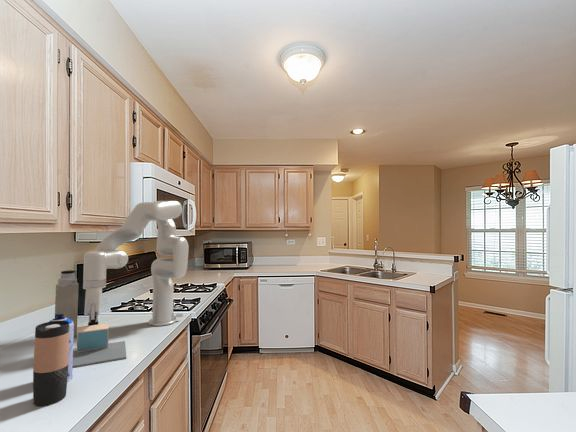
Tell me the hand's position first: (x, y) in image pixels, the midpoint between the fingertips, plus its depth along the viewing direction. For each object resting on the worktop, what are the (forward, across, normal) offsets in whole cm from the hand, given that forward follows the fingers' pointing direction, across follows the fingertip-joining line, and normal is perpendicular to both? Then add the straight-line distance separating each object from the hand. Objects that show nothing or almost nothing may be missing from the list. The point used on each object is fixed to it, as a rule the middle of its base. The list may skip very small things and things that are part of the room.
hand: (93, 332), depth 120 cm
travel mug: (+7, +35, -8) cm, 36 cm away
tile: (+6, +1, 0) cm, 6 cm away
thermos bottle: (+7, -22, -11) cm, 26 cm away
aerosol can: (+7, +23, -8) cm, 25 cm away
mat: (+7, +6, 0) cm, 9 cm away
